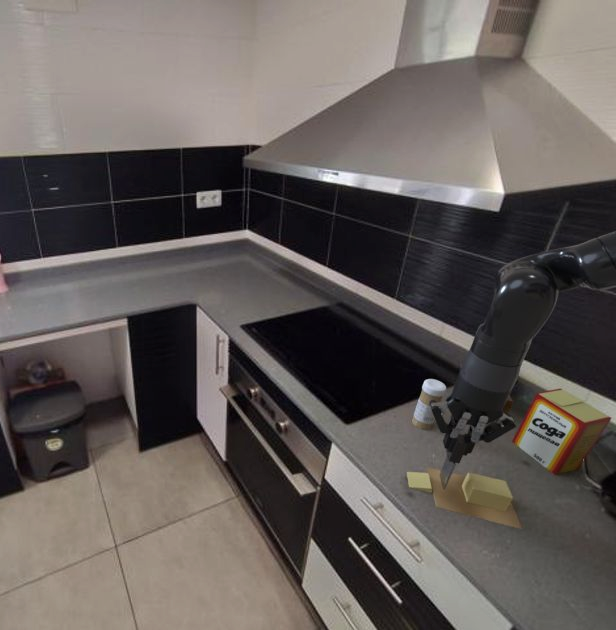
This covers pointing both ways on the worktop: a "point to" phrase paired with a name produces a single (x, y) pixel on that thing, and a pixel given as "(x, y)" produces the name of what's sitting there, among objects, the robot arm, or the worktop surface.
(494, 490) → the butter block
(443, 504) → the butter board
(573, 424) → the baking soda box
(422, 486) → the butter slice
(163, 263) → the worktop surface
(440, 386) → the sprinkles bottle
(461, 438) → the knife
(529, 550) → the worktop surface
